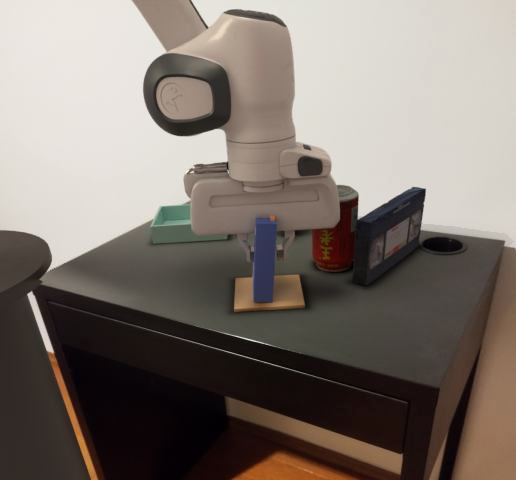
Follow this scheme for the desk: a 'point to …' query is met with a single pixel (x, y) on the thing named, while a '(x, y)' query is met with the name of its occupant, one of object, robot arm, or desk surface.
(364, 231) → the vhs cassette tape
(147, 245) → the desk surface
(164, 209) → the tray
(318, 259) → the soda can
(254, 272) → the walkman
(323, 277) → the desk surface
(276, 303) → the mat
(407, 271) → the desk surface
